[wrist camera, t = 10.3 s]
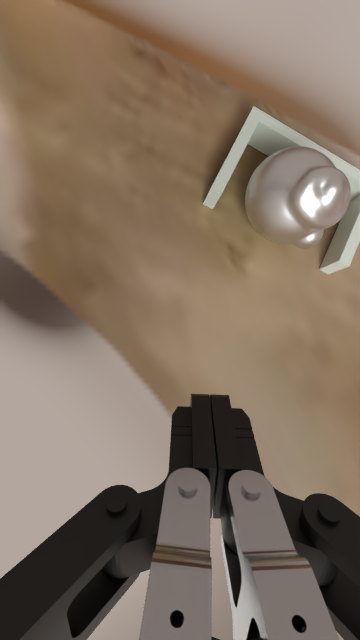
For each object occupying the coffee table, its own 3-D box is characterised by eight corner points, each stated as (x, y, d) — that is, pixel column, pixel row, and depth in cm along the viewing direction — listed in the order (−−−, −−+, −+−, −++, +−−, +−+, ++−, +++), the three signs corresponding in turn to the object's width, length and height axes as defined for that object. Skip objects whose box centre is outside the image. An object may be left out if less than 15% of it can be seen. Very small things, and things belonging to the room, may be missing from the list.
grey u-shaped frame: (202, 204, 34) (211, 187, 31) (241, 129, 36) (253, 106, 33) (328, 274, 36) (349, 265, 32) (359, 199, 38) (383, 184, 34)
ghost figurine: (240, 264, 34) (285, 228, 25) (227, 181, 35) (265, 113, 25) (316, 257, 36) (387, 220, 26) (302, 177, 37) (366, 112, 27)
